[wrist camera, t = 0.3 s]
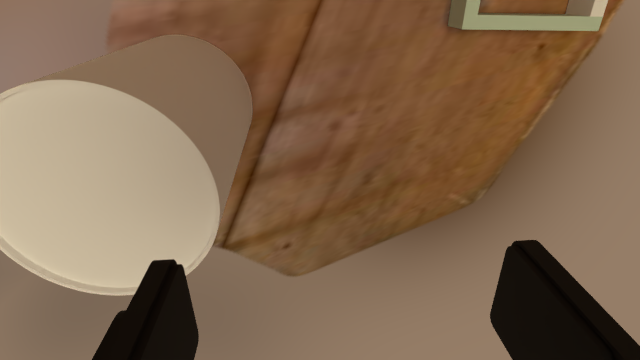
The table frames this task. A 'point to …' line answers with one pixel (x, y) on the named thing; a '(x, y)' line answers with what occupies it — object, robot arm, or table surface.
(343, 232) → the table surface
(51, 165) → the canister
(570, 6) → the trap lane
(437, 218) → the table surface
